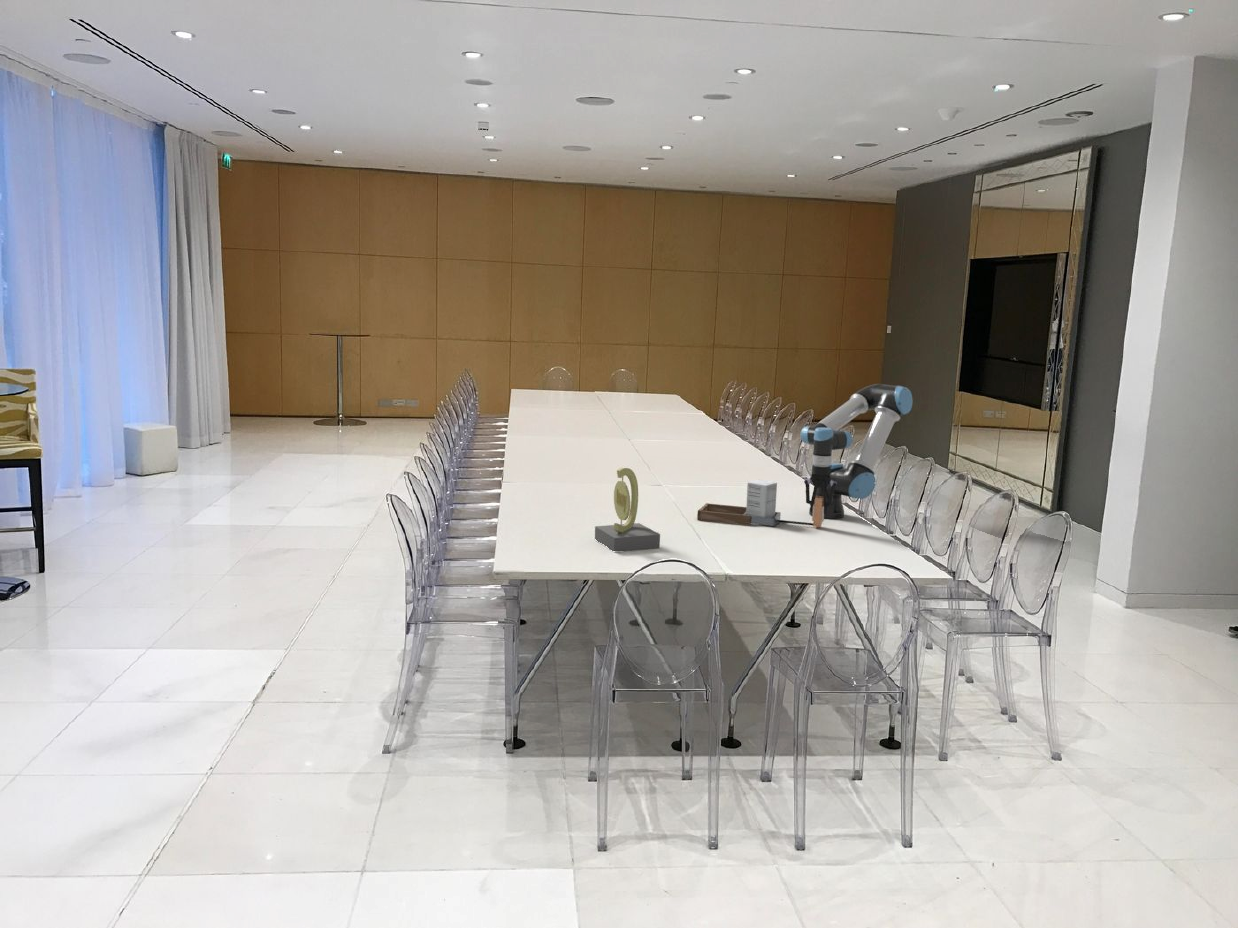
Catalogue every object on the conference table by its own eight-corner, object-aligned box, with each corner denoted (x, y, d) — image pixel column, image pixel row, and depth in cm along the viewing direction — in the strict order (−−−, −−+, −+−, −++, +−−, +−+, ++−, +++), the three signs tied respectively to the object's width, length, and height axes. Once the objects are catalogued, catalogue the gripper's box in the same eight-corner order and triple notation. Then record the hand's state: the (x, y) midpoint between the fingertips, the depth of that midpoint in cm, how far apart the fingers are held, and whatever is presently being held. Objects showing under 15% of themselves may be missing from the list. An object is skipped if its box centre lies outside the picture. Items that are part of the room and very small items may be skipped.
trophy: (594, 540, 384) (596, 463, 379) (638, 536, 391) (641, 461, 386) (614, 552, 367) (616, 472, 362) (659, 548, 375) (662, 470, 369)
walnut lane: (705, 512, 438) (706, 503, 437) (756, 517, 432) (757, 508, 431) (697, 520, 422) (697, 510, 422) (749, 525, 416) (750, 516, 415)
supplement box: (756, 517, 429) (759, 479, 427) (775, 521, 424) (777, 482, 421) (744, 521, 422) (747, 482, 419) (763, 524, 416) (766, 485, 414)
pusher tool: (747, 515, 431) (748, 487, 429) (822, 523, 422) (824, 494, 419) (741, 522, 418) (743, 493, 416) (819, 530, 409) (821, 500, 407)
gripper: (800, 465, 410) (797, 520, 414) (840, 468, 405) (836, 524, 409) (803, 462, 417) (799, 516, 421) (842, 465, 412) (838, 520, 417)
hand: (817, 520), depth 415 cm, fingers closed on pusher tool, 3 cm apart
